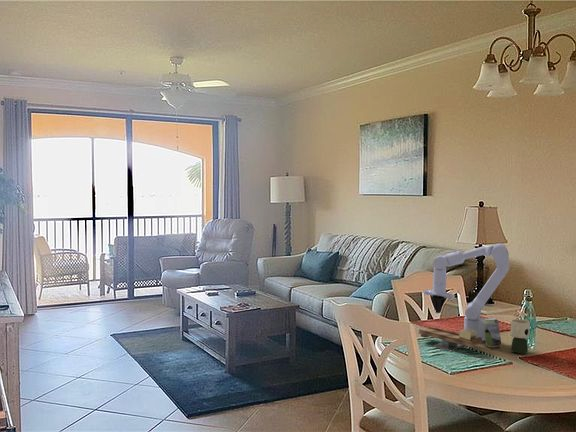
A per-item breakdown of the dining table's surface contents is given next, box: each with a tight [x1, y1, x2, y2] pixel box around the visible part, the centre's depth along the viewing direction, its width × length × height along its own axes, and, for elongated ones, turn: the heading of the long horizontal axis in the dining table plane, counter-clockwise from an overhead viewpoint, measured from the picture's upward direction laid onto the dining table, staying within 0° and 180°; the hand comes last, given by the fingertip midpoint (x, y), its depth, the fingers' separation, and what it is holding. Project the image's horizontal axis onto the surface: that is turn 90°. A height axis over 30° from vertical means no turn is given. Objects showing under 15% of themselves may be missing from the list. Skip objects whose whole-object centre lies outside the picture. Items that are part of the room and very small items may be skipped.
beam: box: [418, 326, 484, 348], centre depth 235 cm, size 25×9×4 cm, turn 42°
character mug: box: [510, 318, 531, 355], centre depth 226 cm, size 11×7×13 cm, turn 147°
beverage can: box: [483, 317, 502, 348], centre depth 235 cm, size 6×7×12 cm
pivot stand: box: [432, 340, 466, 352], centre depth 235 cm, size 8×13×3 cm, turn 132°
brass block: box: [458, 328, 477, 341], centre depth 228 cm, size 5×5×4 cm
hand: (438, 312), depth 251 cm, fingers closed
